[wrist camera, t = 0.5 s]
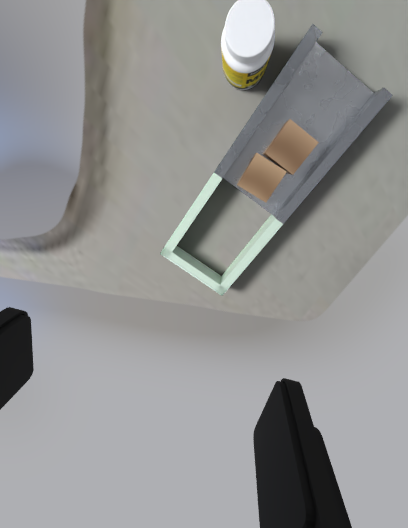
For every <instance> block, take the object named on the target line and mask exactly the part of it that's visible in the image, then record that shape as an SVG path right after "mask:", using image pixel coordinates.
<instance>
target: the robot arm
mask: <svg viewBox="0 0 408 528" xmlns="http://www.w3.org/2000/svg"><path fill="white" fill-rule="evenodd" d="M32 373H33V352H32V334H31V319H30V317H28V314H27V312H25V311H22V310H18V309H14V308H10V307H9V308H6V309H4V310H2V311H1V312H0V409H1V408H2V407H3V406H4V405H5V404H6V403H7V402H8V401H9V400H10V399H11V398H12V397H13V395H15V394H16V393H17V392H18V390H19V389H20V388H21V387H22V386H23V385H24V384H25V383H26V382H27V381H28V380H29V379H30V377H31V375H32ZM254 453H255V466H256V478H257V493H258V507H259V521H260V528H352V527H351V524H350V520H349V517H348V514H347V512H346V508H345V505H344V502H343V499H342V496H341V493H340V490H339V487H338V484H337V481H336V478H335V474H334V472H333V468H332V465H331V462H330V459H329V456H328V453H327V450H326V447H325V444H324V441H323V438H322V435H321V433H320V431H319V430H318V429H317V428H315V427H314V425H313V422H312V419H311V416H310V412H309V409H308V406H307V402H306V399H305V396H304V393H303V389H302V386H301V384H300V383H299V382H296V381H293V380H289V379H284V378H283V379H282V380H281V382H280V381H277V382H276V383H275V385H274V388H273V390H272V392H271V394H270V396H269V398H268V401H267V403H266V405H265V407H264V409H263V412H262V414H261V416H260V418H259V420H258V422H257V425H256V427H255V430H254Z"/></svg>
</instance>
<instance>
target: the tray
mask: <svg viewBox="0 0 408 528" xmlns="http://www.w3.org/2000/svg"><path fill="white" fill-rule="evenodd" d="M221 180H222V178H221V177H220V176H218V175H217V174H216V173H213V175H212V176H211V178H210V179H209V181H208V182H207V184H206V185H205V187H204V188H203V190H202V191H201V193H200V194H199V196H198V197H197V199H196V200H195V202H194V203H193V205H192V206H191V208H190V209H189V211H188V212H187V214H186V215H185V217H184V218H183V220H182V221H181V223H180V224H179V226H178V227H177V229H176V230H175V232H174V233H173V235H172V236H171V238H170V239H169V241H168V242H167V244H166V245H165V247H164V248H163V250H162V251H161V253H160V254H161V255H162V256H164V257H165V258H167V259H168V260H170V261H171V262H173V263H174V264H176V265H177V266H179V267H180V268H182V269H183V270H185V271H186V272H188V273H189V274H191V275H192V276H193V277H195V278H196V279H198V280H199V281H201V282H202V283H204V284H205V285H207V286H208V287H210V288H211V289H213V290H214V291H216V292H217V293H219V294H220V295H223V294H224V293H225V292H226V291H227V290H228V288H229V287H230V286H231V285H232V284H233V283H234V281H235V280H236V279H237V278H238V277H239V275H240V274H241V273H242V272H243V271H244V270H245V268H246V267H247V266H248V265H249V264H250V263H251V261H252V260H253V259H254V258H255V257H256V255H257V254H258V253H259V252H260V251H261V250H262V248H263V247H264V246H265V245H266V244H267V243H268V241H269V240H270V239H271V238H272V237H273V235H274V234H275V233H276V232H277V231H278V230H279V228H280V227H281V226H282V225H283V224H282V223H281V222H280V221H278V220H277V219H276V218H275V217H274V216H273V215H272V214H271V216H270V217H269V218H268V219H267V221H266V222H265V223H264V224H263V226H262V227H261V228H260V229H259V230H258V232H257V233H256V234H255V235H254V237H253V238H252V239H251V240H250V241H249V243H248V244H247V245H246V246H245V248H244V249H243V250H242V251H241V253H240V254H239V255H238V256H237V257H236V259H235V260H234V261H233V262H232V264H231V265H230V266H229V267H228V268H227V270H226V271H225V272H224V273H223V275H222V276H220V275H219V274H217V273H216V272H215V271H213V270H212V269H210V268H209V267H207V266H206V265H204V264H203V263H201V262H200V261H199V260H197V259H196V258H194V257H193V256H191V255H190V254H188V253H187V252H185V251H184V250H183V249H181V248H180V247H178V246H177V244H178V243H179V241H180V240H181V238H182V237H183V235H184V234H185V232H186V231H187V230H188V228H189V227H190V225H191V224H192V222H193V221H194V219H195V218H196V216H197V215H198V214H199V212H200V211H201V209H202V208H203V206H204V205H205V203H206V202H207V200H208V199H209V197H210V196H211V195H212V193H213V192H214V190H215V189H216V187H217V186H218V184H219V183H220V181H221Z"/></svg>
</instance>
